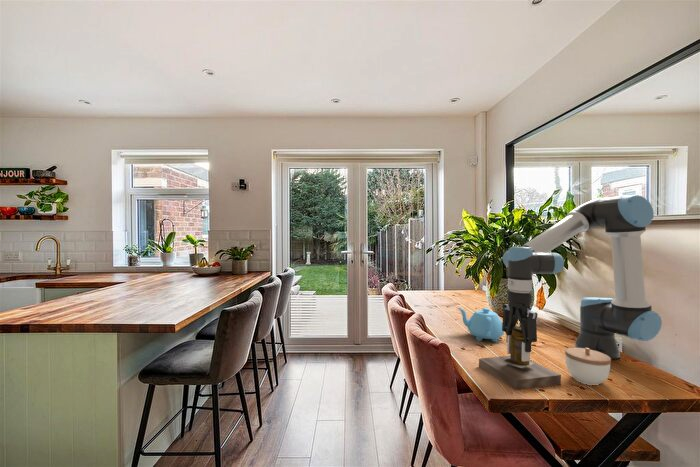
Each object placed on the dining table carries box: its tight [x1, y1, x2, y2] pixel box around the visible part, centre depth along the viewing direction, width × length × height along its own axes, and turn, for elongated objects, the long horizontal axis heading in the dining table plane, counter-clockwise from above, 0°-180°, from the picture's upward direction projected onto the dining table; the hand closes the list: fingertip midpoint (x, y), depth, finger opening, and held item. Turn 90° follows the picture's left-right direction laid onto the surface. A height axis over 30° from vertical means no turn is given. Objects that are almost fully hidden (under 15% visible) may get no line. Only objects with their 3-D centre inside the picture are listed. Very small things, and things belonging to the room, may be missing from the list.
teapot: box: [457, 307, 507, 343], centre depth 153 cm, size 16×20×14 cm
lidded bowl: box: [564, 347, 612, 386], centre depth 110 cm, size 13×13×11 cm
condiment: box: [502, 325, 536, 368], centre depth 114 cm, size 7×8×12 cm
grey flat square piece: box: [478, 355, 562, 391], centre depth 114 cm, size 18×18×3 cm
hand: (518, 356), depth 114 cm, fingers closed on condiment, 6 cm apart
